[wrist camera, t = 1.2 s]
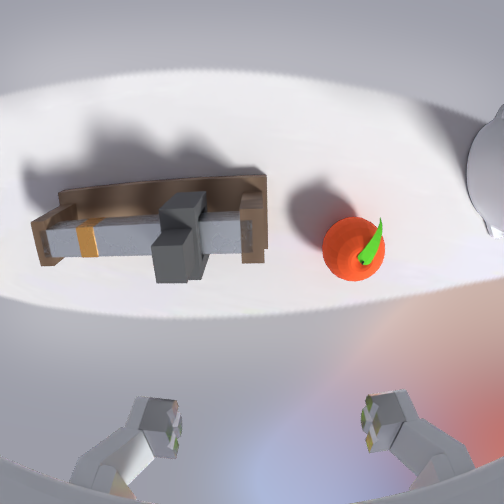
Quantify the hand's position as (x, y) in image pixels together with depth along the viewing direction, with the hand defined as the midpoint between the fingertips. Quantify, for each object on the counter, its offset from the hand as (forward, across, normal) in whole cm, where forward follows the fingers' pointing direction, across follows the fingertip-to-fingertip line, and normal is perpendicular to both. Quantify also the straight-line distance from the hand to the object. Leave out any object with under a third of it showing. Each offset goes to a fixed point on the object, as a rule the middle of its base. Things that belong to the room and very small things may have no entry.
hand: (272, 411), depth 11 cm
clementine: (+28, -10, +3) cm, 29 cm away
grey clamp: (+23, +7, 0) cm, 24 cm away
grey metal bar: (+22, +12, 0) cm, 25 cm away
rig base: (+27, +12, 0) cm, 30 cm away
